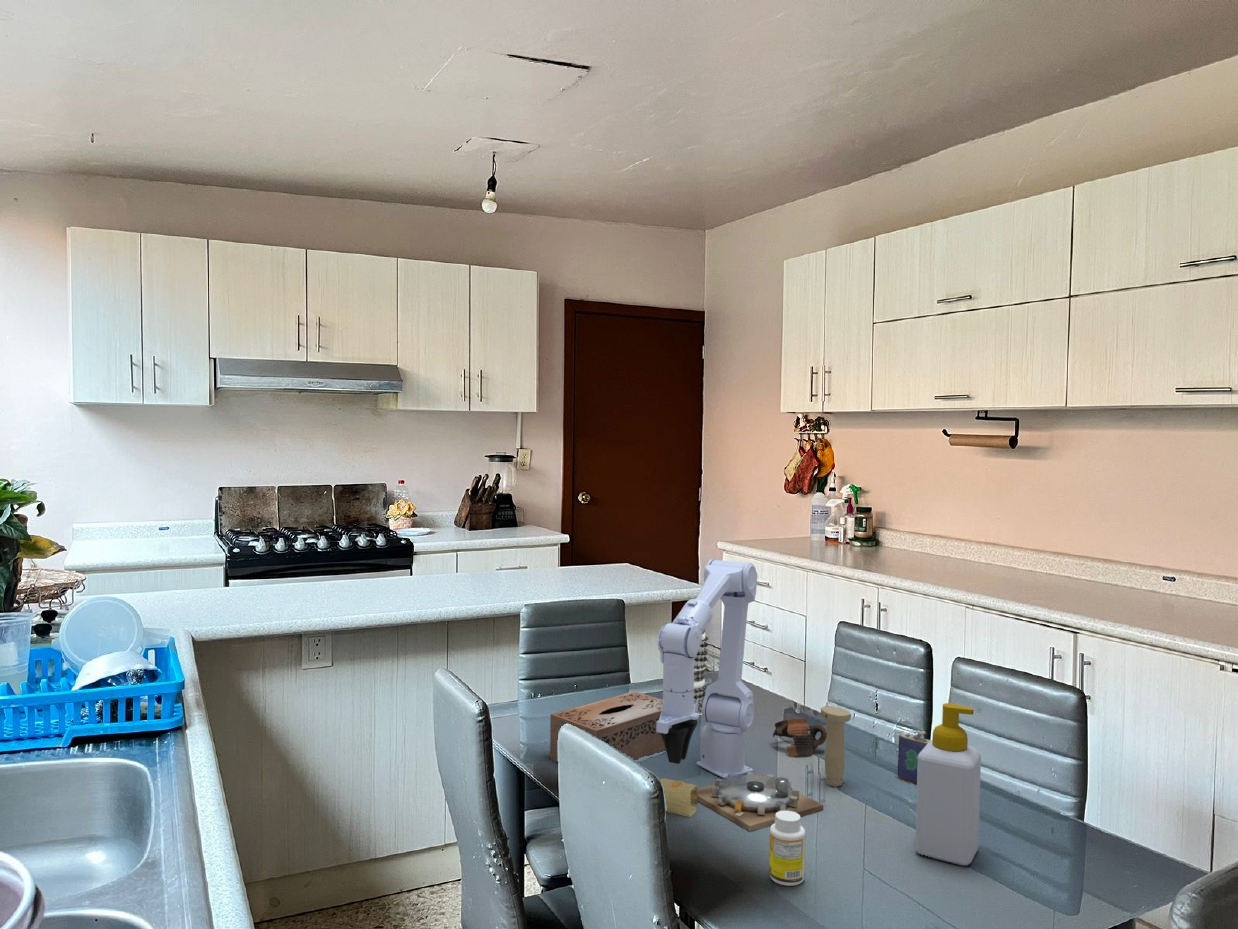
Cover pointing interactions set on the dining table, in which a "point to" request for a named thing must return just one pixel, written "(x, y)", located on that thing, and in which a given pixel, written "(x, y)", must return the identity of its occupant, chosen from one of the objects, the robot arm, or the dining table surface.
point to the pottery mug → (800, 736)
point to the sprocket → (755, 793)
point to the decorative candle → (700, 673)
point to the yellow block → (680, 797)
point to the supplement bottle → (787, 849)
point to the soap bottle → (948, 792)
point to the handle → (835, 743)
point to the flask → (910, 755)
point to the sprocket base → (752, 818)
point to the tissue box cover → (616, 723)
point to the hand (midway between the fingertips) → (677, 760)
